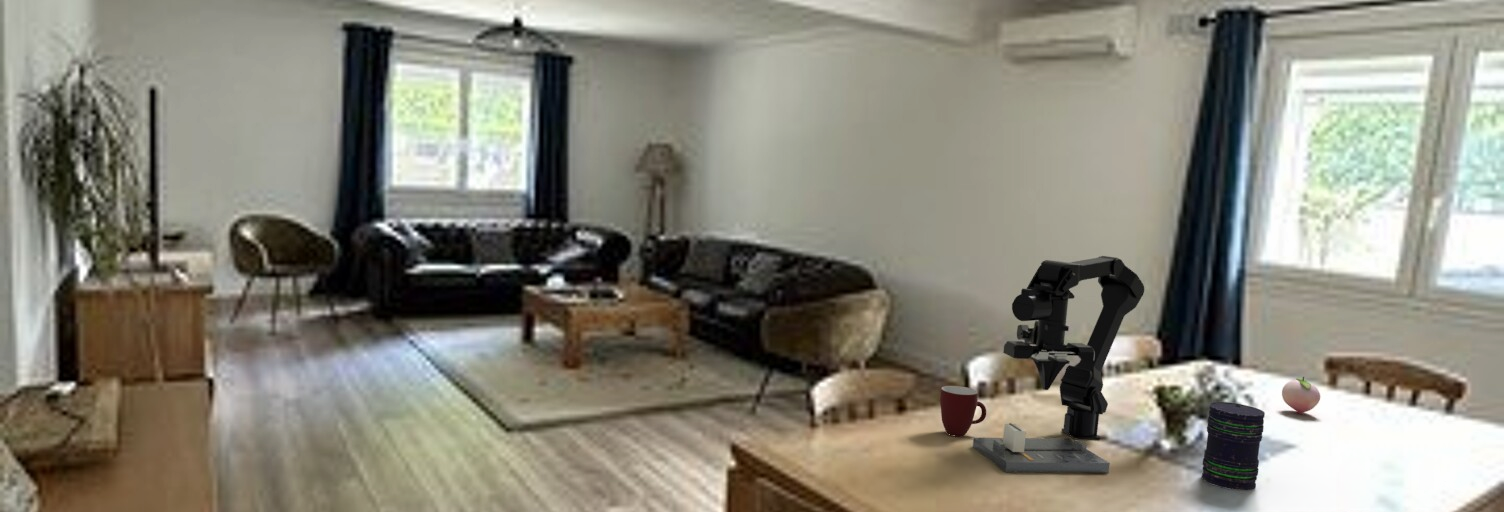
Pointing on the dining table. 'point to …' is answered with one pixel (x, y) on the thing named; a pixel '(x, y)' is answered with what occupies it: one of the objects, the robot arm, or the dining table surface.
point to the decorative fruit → (1300, 395)
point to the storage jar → (1233, 446)
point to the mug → (959, 409)
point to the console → (1042, 456)
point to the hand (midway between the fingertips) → (1045, 389)
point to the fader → (1014, 437)
